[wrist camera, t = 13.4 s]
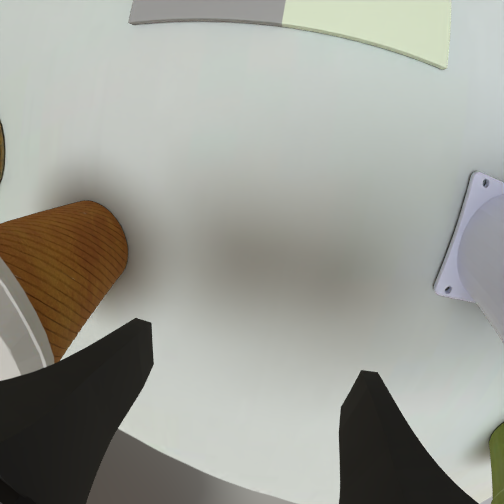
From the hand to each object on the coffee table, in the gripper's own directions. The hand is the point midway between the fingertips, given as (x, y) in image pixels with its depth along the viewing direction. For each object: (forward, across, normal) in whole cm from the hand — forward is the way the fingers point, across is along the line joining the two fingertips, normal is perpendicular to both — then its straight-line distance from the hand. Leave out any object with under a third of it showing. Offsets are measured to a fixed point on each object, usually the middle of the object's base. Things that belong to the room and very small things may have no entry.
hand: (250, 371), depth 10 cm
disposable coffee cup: (+10, +13, +2) cm, 16 cm away
